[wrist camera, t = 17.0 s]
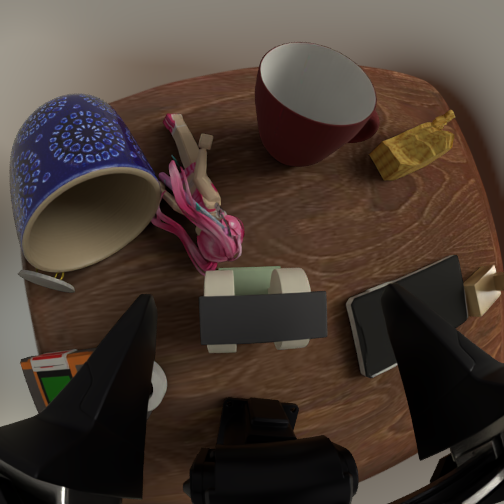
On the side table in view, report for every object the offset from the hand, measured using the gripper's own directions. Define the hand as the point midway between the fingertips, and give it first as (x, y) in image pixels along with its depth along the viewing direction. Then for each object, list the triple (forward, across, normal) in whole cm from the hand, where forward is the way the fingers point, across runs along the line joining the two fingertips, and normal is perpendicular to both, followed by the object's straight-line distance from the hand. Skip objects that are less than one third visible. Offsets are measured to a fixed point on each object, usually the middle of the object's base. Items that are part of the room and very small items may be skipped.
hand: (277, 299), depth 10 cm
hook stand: (+7, -27, +10) cm, 30 cm away
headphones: (+8, 0, +9) cm, 12 cm away
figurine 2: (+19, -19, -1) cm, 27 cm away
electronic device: (+3, +15, +15) cm, 21 cm away
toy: (+15, +5, +3) cm, 16 cm away
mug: (+18, -5, 0) cm, 19 cm away
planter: (+15, +17, -4) cm, 23 cm away
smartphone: (+7, -16, +11) cm, 21 cm away
